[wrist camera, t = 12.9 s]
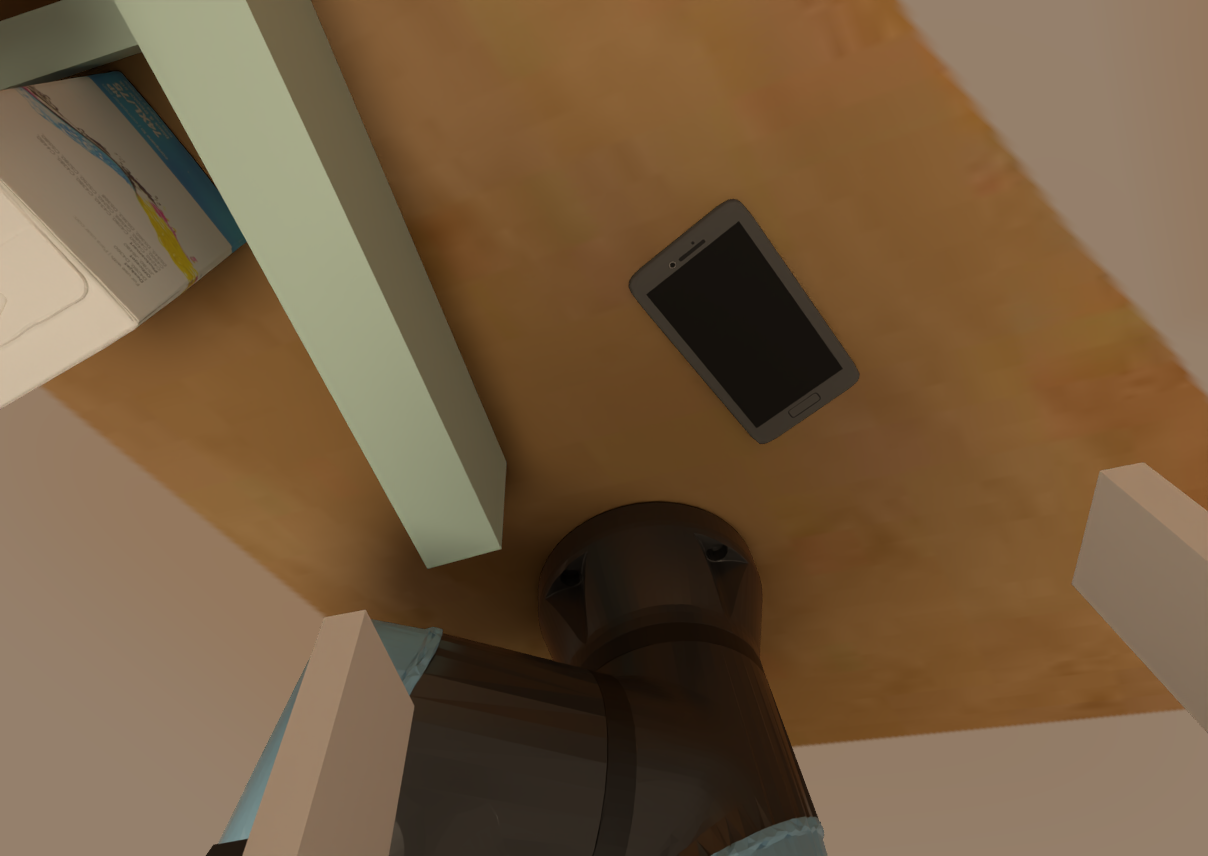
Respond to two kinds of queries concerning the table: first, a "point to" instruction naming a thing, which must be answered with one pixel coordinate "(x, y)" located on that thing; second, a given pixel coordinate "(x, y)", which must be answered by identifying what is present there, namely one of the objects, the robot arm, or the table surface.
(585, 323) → the table surface
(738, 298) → the cell phone
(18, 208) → the ink box
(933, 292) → the table surface
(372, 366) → the sage green box
